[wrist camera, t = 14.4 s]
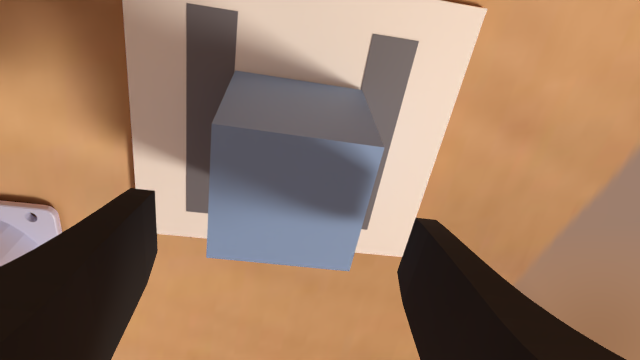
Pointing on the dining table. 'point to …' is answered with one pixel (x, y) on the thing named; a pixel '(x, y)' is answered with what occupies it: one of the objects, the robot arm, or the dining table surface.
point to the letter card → (299, 64)
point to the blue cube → (290, 172)
